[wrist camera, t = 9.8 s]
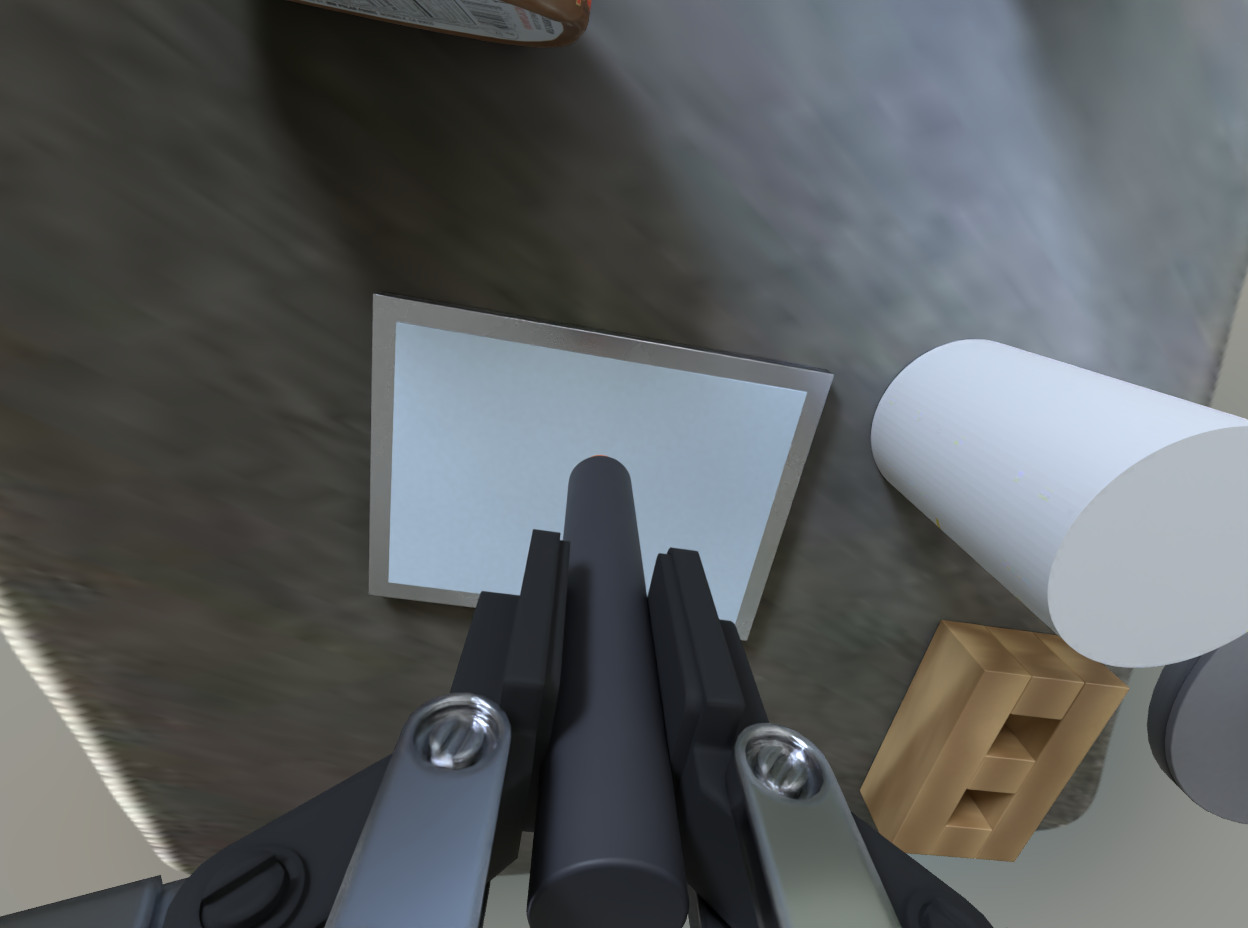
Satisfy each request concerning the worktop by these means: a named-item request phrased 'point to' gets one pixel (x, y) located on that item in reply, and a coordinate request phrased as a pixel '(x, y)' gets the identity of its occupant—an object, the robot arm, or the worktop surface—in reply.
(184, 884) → the robot arm
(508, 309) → the worktop surface
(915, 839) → the holder
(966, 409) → the cup
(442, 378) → the tablet
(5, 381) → the worktop surface
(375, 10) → the tin
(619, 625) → the stylus
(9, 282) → the worktop surface
